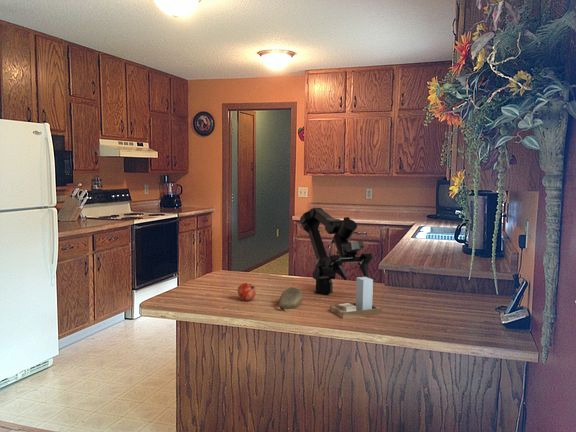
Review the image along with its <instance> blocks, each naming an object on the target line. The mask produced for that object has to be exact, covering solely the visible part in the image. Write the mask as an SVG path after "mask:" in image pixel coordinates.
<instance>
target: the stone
mask: <svg viewBox="0 0 576 432" xmlns="http://www.w3.org/2000/svg"><path fill="white" fill-rule="evenodd" d="M302 301H303V292H302V290H301V289H299V288H297V287H289V288H287V289H285V290H283V291H282V292H281V294H280V296H279V302H278V307H279V308H280V309H281V310H282V311H285V310H293V309H297V308H298V307H300V306H301V305H302Z"/></svg>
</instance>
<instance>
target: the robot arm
mask: <svg viewBox="0 0 576 432" xmlns="http://www.w3.org/2000/svg"><path fill="white" fill-rule="evenodd" d="M299 223H300V225H301V227H302V229H303V230H304V231H305V232H306V233H307V234H308V237H309V239H310V242H311V245H312V249H313V251H314V255H315V258H316V262H315V266H314V267H315V269H314V270H313V271H312V279H314V280H315V291H314V292H313V294H318V295H330V294H331V293H333V292H334V291H333V290H334V287H333V281H332V280H335V278H336V276H337V274H338V275H339V276H340V277H341V279H343V280H344V281H346V280H348V278H347V273H346V272H345V269H344V266H343V264H351V263H357V264H358V266H359V269H360V271H361V273H362V275H363V277H368V278H369V269H368V267H369V264H370V263H371V262H372V260H373V259H374V256H373V254H372V253H371V252H362V253H361V254H360V255H359V256H357V255H358V253H359V252H360V251H361V250H362V249H364V248H365V243H364V241H363V240H362V239H361V240H357V241H350V238H352V236H353V235H354V233H355V232H356V230H357V228H358V224H357V222H355V221H354V220H353V219H350V217H348V216H347V217H346V216H344V218H343V219H340V218H335V217H332V216H331V215H330V214H329V213H328V212H326V211H325V210H324V209H323V208H322V207H312V208H310V210H308V211H306V212H304V213H303V214H302V215H301V216H300V217H299ZM320 225H323V226H324V230H325V232H326V233H327V234H328V235H333V236H332V239H331V244H334V246H335V247H336V254H330V255H329V256H328V254H327V250H326V248H325V245H324V242H323V239H322V236H321V233H320V230H319V227H320ZM358 251H359V252H358Z"/></svg>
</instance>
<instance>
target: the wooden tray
mask: <svg viewBox="0 0 576 432" xmlns="http://www.w3.org/2000/svg"><path fill="white" fill-rule="evenodd" d="M349 304H352V305H354V306H356V302H351V303H349ZM338 306H339V304H335V305H334V304H333V305H329V312H331V313H333V314H334V315H336V316H338V317H339V318H341V319H342V320H344V319H352V318H353V319H354V318H362V317H369V316H378V315H382V312H383V311H382V308H381V307H379V306H377V305H375V304H373V303H372V309H367V310H358V311H349V312H343V311H342V310H340V309H338Z"/></svg>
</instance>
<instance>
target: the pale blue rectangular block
mask: <svg viewBox="0 0 576 432" xmlns="http://www.w3.org/2000/svg"><path fill="white" fill-rule="evenodd" d="M355 280H356V283H355V284H356V285H355V303H356V311H358V310H367V309H372V304H373V292H374V291H373V290H374V289H373V288H374V286H373V285H374V279H373V278H370V277H369V276H368V277H365V276H360V277H359V276H358V277H356V279H355Z"/></svg>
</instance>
